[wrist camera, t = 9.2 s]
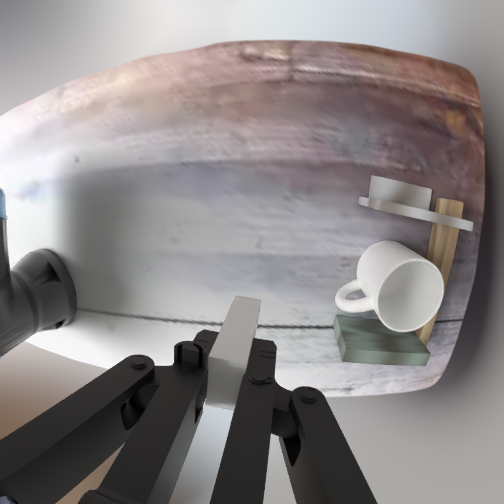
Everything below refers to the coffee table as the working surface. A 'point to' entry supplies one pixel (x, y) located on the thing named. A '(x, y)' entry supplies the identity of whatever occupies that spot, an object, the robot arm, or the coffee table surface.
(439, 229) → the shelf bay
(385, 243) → the mug
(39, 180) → the coffee table surface
